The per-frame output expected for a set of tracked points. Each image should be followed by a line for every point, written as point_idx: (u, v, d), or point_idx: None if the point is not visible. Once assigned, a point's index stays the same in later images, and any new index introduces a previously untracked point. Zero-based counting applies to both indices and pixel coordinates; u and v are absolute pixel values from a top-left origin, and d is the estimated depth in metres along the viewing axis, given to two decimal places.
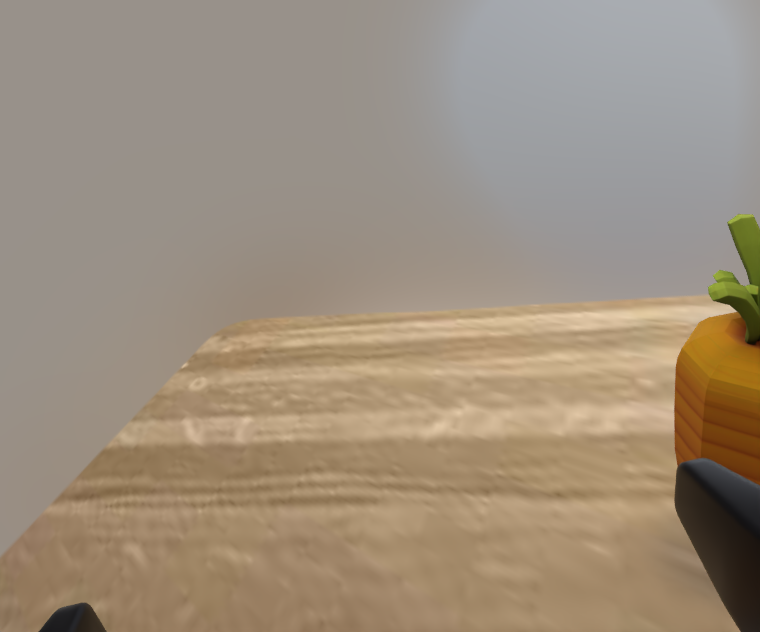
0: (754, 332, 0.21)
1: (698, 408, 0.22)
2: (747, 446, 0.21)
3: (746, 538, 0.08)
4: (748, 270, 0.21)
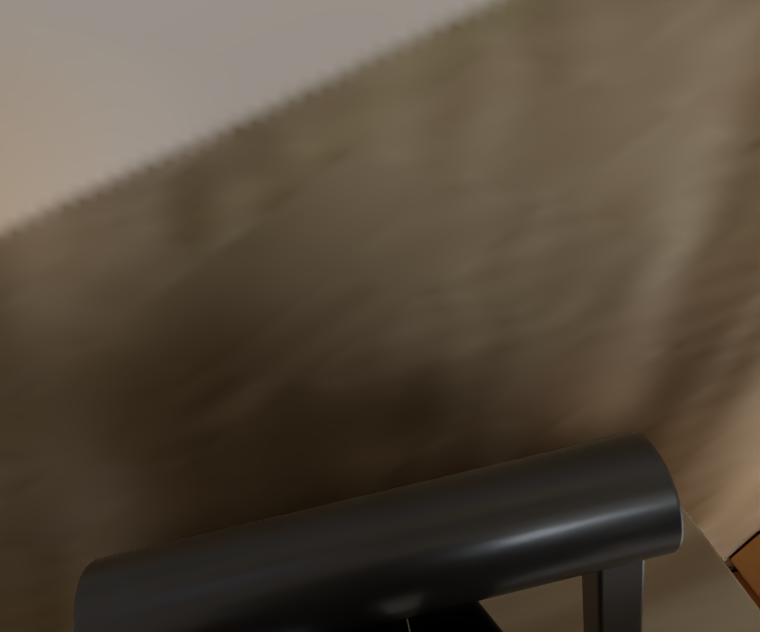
0: None
1: None
2: None
3: (409, 619, 0.08)
4: None
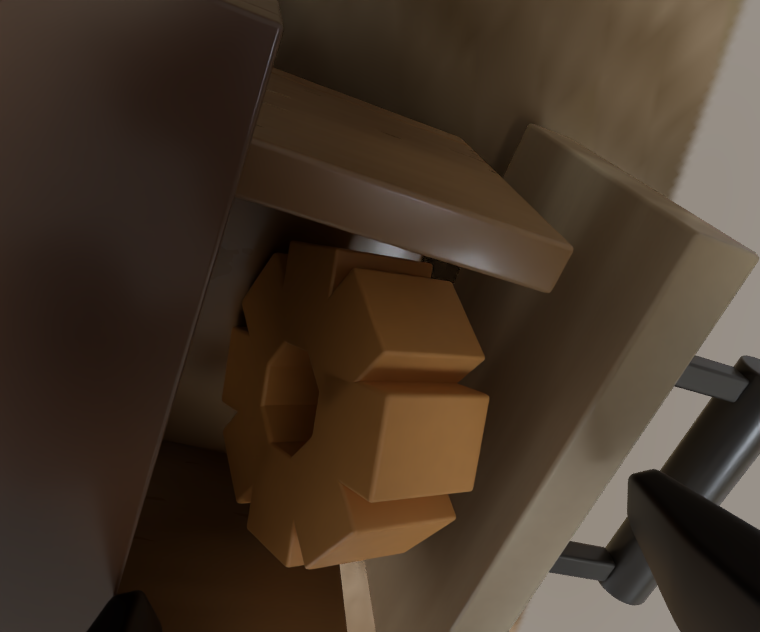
0: None
1: None
2: None
3: (689, 552, 0.08)
4: None
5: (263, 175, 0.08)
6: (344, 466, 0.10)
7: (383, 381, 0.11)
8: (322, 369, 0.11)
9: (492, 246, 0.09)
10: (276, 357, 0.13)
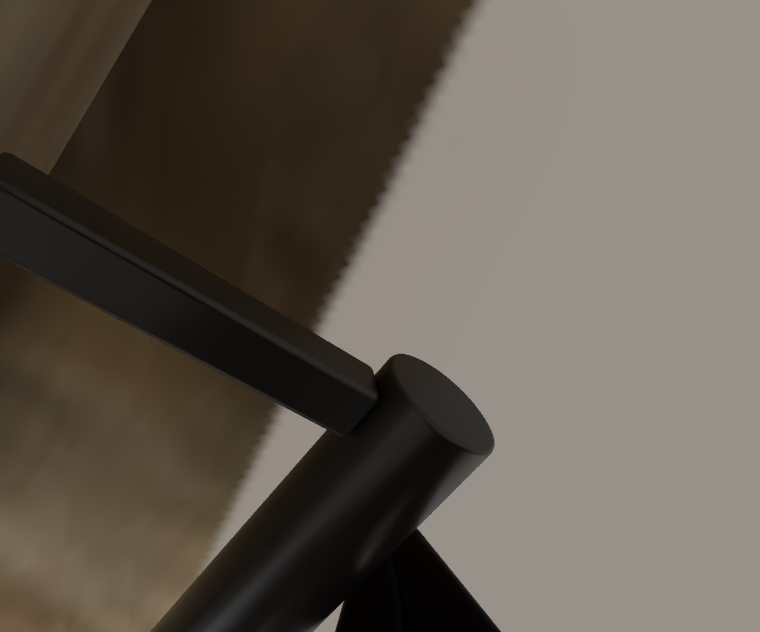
0: None
1: None
2: None
3: (407, 620, 0.08)
4: None
5: None
6: None
7: None
8: None
9: None
10: None
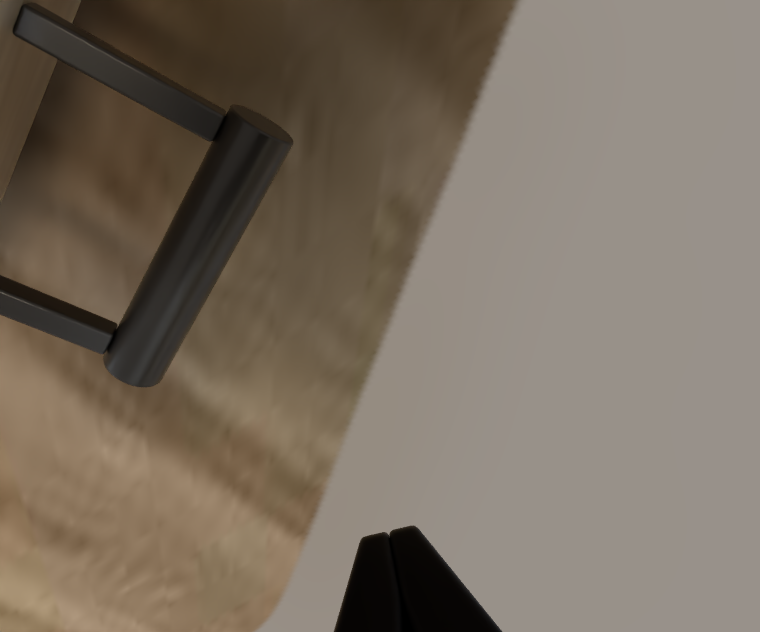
0: None
1: None
2: None
3: (408, 619, 0.08)
4: None
5: None
6: None
7: None
8: None
9: None
10: None
